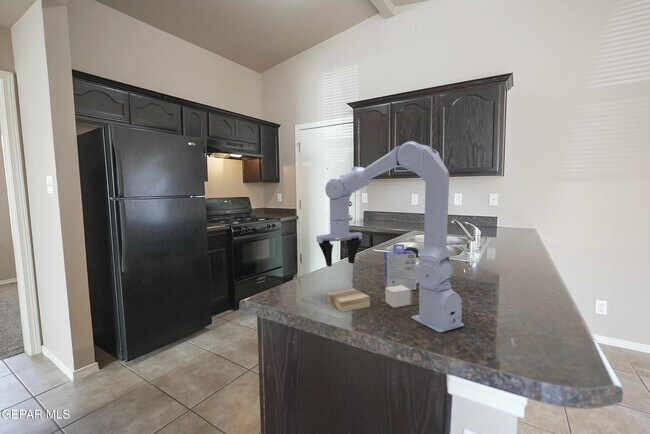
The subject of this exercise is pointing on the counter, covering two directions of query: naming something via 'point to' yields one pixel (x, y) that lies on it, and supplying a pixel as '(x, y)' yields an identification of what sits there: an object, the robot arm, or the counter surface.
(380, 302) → the counter surface
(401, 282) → the ink cartridge box
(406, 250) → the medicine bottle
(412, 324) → the counter surface
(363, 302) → the maple block
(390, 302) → the off-white cardboard box
